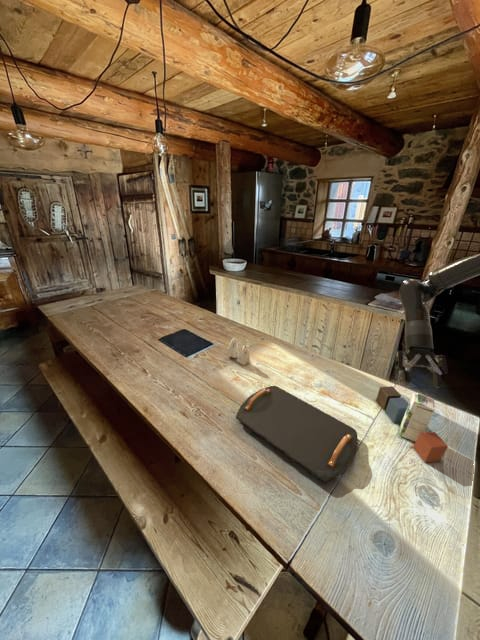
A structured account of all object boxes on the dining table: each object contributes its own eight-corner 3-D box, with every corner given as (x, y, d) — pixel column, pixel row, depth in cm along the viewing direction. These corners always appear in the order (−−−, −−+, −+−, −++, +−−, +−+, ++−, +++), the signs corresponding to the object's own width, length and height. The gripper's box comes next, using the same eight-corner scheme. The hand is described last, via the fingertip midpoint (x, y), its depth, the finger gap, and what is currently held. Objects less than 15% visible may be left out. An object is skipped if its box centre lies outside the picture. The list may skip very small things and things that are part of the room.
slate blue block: (398, 411, 97) (403, 397, 94) (407, 421, 92) (412, 407, 90) (385, 412, 96) (389, 398, 94) (393, 422, 92) (398, 408, 89)
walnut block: (388, 399, 102) (392, 386, 99) (396, 409, 98) (401, 395, 95) (375, 400, 102) (380, 387, 99) (383, 410, 97) (388, 396, 94)
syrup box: (400, 424, 91) (412, 391, 85) (420, 431, 89) (434, 398, 82) (399, 436, 87) (412, 402, 81) (420, 444, 84) (435, 409, 78)
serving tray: (365, 441, 85) (369, 427, 82) (333, 496, 69) (337, 481, 67) (267, 386, 108) (268, 374, 105) (228, 418, 92) (227, 405, 90)
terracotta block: (428, 446, 83) (434, 431, 81) (440, 461, 79) (448, 446, 76) (413, 447, 83) (419, 433, 80) (424, 462, 78) (431, 447, 76)
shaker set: (225, 357, 127) (224, 337, 122) (230, 353, 130) (230, 333, 125) (245, 366, 120) (245, 345, 115) (250, 362, 123) (251, 342, 118)
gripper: (400, 330, 86) (403, 381, 81) (449, 335, 84) (455, 387, 79) (390, 337, 93) (392, 383, 88) (435, 341, 91) (440, 389, 86)
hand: (422, 385), depth 83 cm, fingers open, 8 cm apart
